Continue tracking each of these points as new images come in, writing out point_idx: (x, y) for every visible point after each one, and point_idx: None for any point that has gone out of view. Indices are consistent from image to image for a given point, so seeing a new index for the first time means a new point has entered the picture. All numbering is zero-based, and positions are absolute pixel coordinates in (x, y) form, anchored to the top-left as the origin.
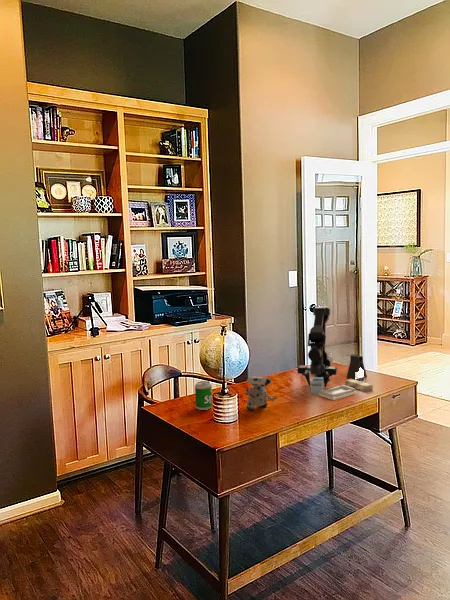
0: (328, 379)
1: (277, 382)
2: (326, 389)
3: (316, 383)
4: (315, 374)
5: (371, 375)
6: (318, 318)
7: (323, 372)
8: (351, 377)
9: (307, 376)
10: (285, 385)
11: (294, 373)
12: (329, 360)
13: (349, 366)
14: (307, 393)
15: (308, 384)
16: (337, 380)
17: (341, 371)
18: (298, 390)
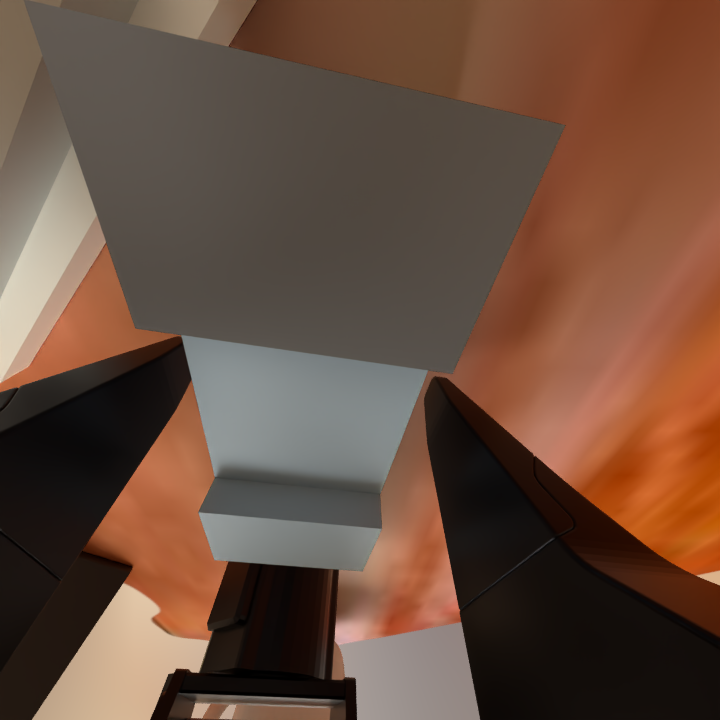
0: None
1: (655, 524)
2: (30, 59)
3: (304, 187)
4: (333, 602)
5: None
6: None
7: (244, 634)
8: (81, 566)
9: (637, 580)
10: (639, 472)
11: (452, 606)
12: (235, 714)
13: (53, 679)
14: None
15: (467, 398)
16: (176, 539)
17: (200, 612)
18: (596, 323)
